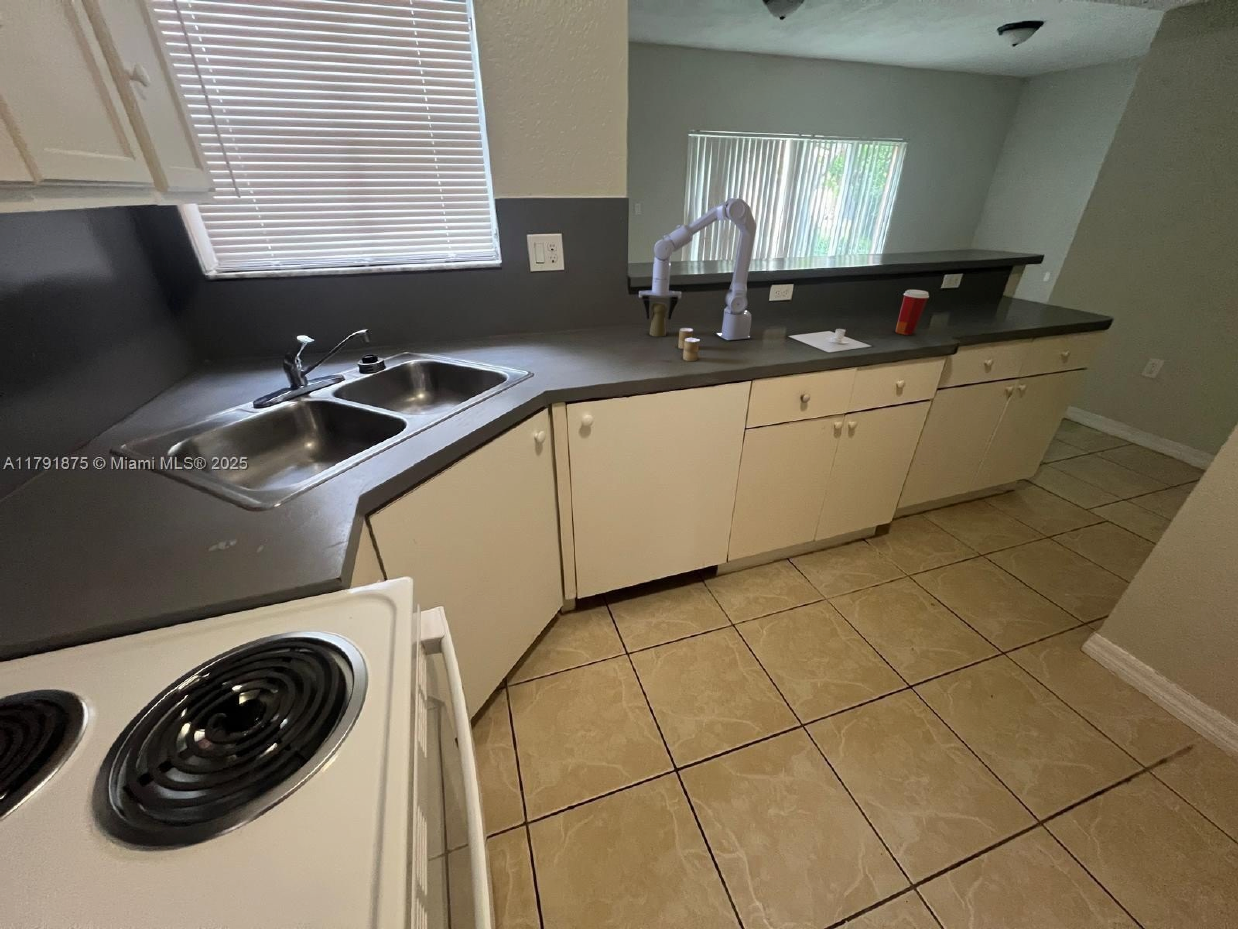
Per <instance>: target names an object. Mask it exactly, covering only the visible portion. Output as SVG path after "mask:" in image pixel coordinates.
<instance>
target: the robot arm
mask: <svg viewBox="0 0 1238 929" xmlns="http://www.w3.org/2000/svg"><path fill="white" fill-rule="evenodd" d="M727 219H728V220H730V221H731V222H733V223H734V225H735V226H736V227H737V229H738V230H739V237H738V243H737V248H736V255H735V261H734V267H733V273H732V280H731V284H730V285H729V289H728V291H727V293H726V295H725V304H726V307H725V308H724V309H723V310H724V311H723V318H722V325H721V332H716V333H715V334H716V336H718V337H720V338H721V339H724V340H726V341H735V340H746V339H747V340H748V339H750V338H751V336H750V332H751V327H752V326H751V325H752V314H751V312H750V311H748V310H746V309H747V308H748V299H747V294H748V293H747V292H748V289H747V288H748V287H747V283H748V276H749V272H750V266H751V260H752V254H753V250H754V249H753V248H754V244H755V237H756V233H757V232H756V231H757V223H756V221H755V218H754V215H753V212H752V210H751V206H750V205H749V204H748V203H747V202H746V201H745V200H744V199H742V198H739V197H735V196H733V197H730V198H728V199H727V200H726V201H723V202H720V203H718V204H717V205H716V206H714V207H712V208H711V209H709V210H708V211H707V212H706V213H704V214H703V215H701V216H700V217H698V218H697V219H696V220H694V221H693V222H691V223H690V224H689V225H687V224H681V225H680V224H678V225H677V226H676V227H675V229H674V230H673V231H672V232H670V233H668V234H665V235H663V239H659V240H658V241H657V242H655V244H654V247H653V252H654V258H653V266H652V267H653V268H652V282H651V283H652V284H651V285H652V286H651V289H650V290H649V289H648V290H639V291H638V298H640V299H641V300H642V302H643V305H644V308H645V313H646V314H645V315H646V319H647V320H650V302H651V300H650V298H657V299H658V298H659V299H661V298H663V299H664V298H665V299H666V298H667V299H668V300H669V301H668V302H669V303H668V314H667V319H668V320H669V321H670V320H671V319H672V316H673V313H674V309H675V308H676V306H677V304H678V303H679V299H682V291H675V290H670V277H671V256H672V254H673V253H674V252H678V251H679V250H681V249H682V248H683V247H685V246H686V245H688V244H689V243H692V241H693V239H694V235H695V234H696V233H699V232H700V231H702V230H704V229H705V228H707V227H708V226H710V225H711V224H714V222H716V221H726V220H727Z"/></svg>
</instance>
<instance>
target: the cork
mask: <svg viewBox="0 0 1238 929" xmlns="http://www.w3.org/2000/svg"><path fill="white" fill-rule="evenodd" d="M667 309H668V307H667V304H666V303H664V302H660V301H659V302H654V303H652V306H651V311H652V317H651V323H650V329H649V335H650V336H652V337H658V338H659V337H661V338H662V337H666V335H667V329H666V328H667V327H666V312H667Z"/></svg>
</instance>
